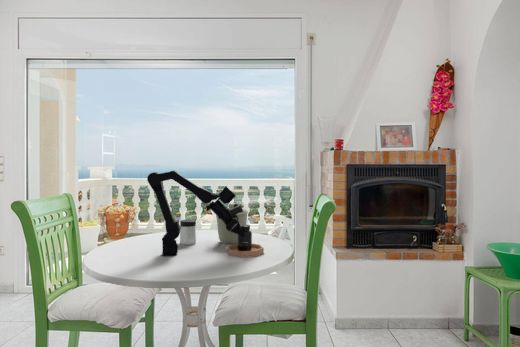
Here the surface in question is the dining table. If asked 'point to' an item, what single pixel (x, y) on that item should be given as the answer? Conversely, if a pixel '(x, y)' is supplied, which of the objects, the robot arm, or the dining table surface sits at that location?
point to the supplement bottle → (245, 239)
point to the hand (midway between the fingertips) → (244, 233)
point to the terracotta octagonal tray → (254, 251)
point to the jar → (188, 232)
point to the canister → (226, 235)
